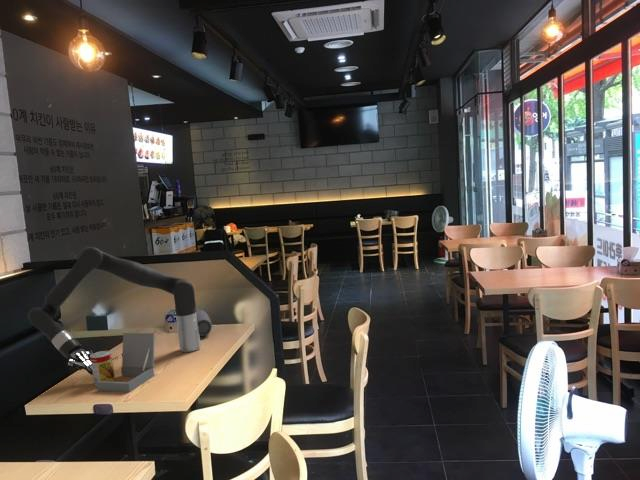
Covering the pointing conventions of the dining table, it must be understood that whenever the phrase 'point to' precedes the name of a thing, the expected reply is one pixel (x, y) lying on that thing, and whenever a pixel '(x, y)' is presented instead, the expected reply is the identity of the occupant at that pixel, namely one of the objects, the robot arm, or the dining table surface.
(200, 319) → the bluetooth speaker
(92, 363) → the canned food
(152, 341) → the case
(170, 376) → the dining table surface
